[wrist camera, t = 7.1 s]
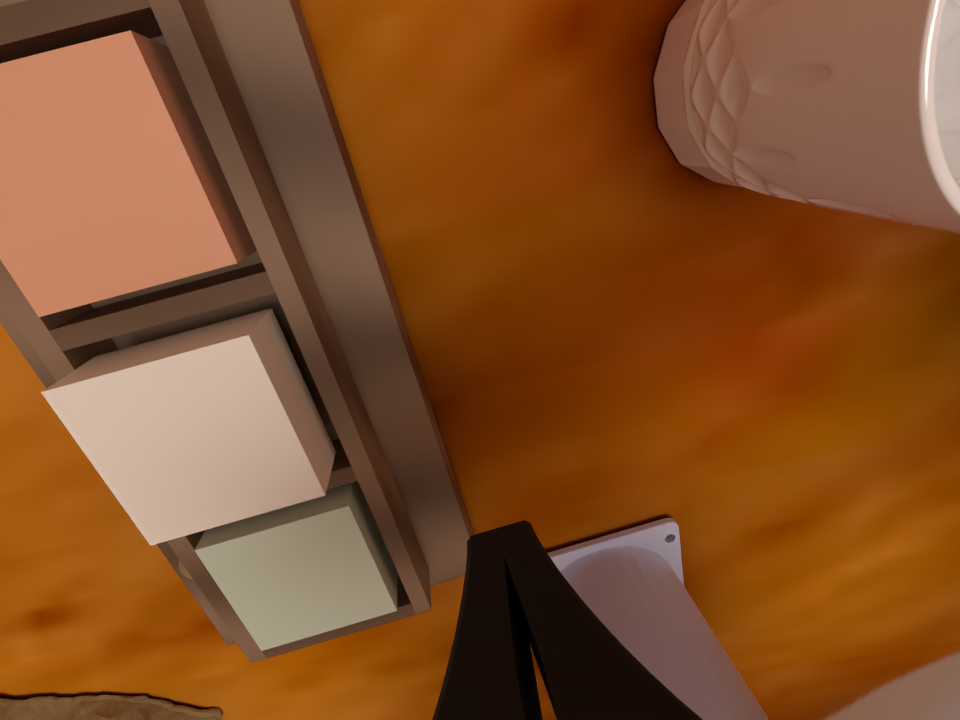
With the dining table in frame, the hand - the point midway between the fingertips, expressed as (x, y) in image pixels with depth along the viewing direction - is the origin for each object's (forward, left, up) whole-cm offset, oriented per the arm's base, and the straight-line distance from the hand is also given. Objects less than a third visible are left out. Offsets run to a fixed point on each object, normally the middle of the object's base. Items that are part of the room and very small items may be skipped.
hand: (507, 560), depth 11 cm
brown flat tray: (+3, +7, -9) cm, 12 cm away
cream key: (+3, +7, -6) cm, 10 cm away
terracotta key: (+10, +7, -7) cm, 14 cm away
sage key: (-3, +7, -7) cm, 11 cm away
